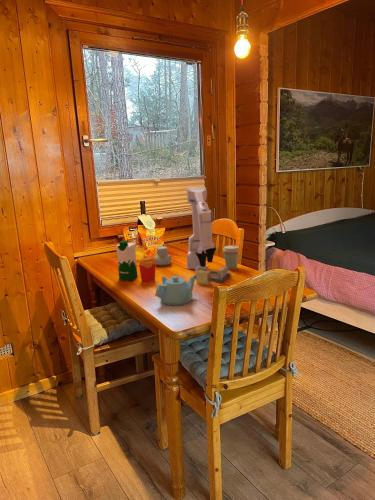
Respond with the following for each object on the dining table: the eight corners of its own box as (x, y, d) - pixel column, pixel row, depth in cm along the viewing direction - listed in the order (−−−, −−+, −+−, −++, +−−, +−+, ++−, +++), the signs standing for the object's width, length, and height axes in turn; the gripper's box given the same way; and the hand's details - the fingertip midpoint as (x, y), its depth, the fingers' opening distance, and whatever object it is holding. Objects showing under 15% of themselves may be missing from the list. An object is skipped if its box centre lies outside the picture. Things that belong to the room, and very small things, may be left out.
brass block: (196, 283, 177) (196, 272, 176) (199, 281, 180) (199, 270, 178) (207, 285, 174) (207, 273, 173) (210, 283, 177) (210, 271, 176)
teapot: (163, 293, 166) (162, 270, 164) (196, 294, 164) (195, 271, 161) (155, 306, 152) (153, 282, 149) (190, 308, 149) (189, 283, 147)
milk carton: (116, 280, 186) (113, 242, 181) (125, 275, 194) (122, 238, 189) (132, 281, 183) (129, 243, 178) (140, 276, 191) (137, 238, 186)
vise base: (192, 278, 184) (192, 268, 183) (202, 272, 193) (202, 262, 192) (222, 283, 177) (221, 272, 175) (230, 276, 186) (230, 265, 184)
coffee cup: (238, 270, 194) (238, 249, 191) (222, 270, 196) (222, 248, 192) (239, 266, 202) (239, 245, 199) (224, 265, 204) (224, 244, 201)
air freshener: (167, 267, 205) (167, 250, 202) (153, 267, 206) (152, 250, 204) (172, 261, 215) (171, 245, 213) (158, 261, 217) (157, 245, 214)
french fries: (141, 283, 180) (139, 259, 177) (139, 280, 184) (138, 257, 181) (158, 280, 183) (156, 257, 180) (155, 278, 187) (154, 255, 184)
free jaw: (217, 278, 179) (217, 270, 178) (224, 273, 185) (224, 266, 184) (221, 278, 178) (221, 270, 177) (227, 274, 184) (227, 266, 183)
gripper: (206, 240, 163) (207, 269, 167) (219, 234, 176) (220, 261, 179) (192, 239, 167) (193, 267, 170) (206, 233, 179) (207, 259, 182)
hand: (206, 264), depth 175 cm, fingers open, 7 cm apart
